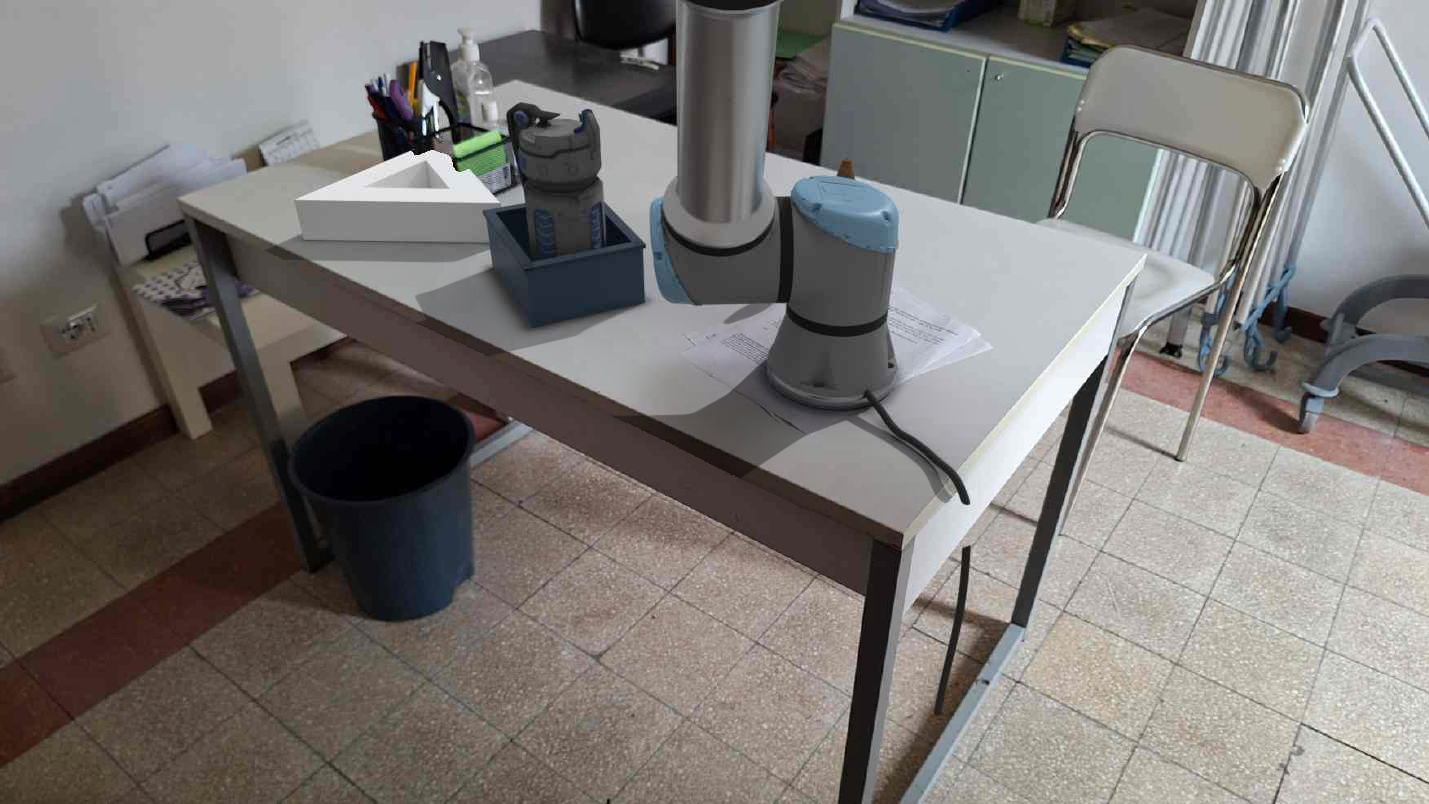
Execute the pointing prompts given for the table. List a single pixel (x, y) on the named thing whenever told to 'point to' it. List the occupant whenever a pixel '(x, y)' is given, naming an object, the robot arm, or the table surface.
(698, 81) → the robot arm
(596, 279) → the dark blue open box
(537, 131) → the grey piece
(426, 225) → the triangle block
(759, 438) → the table surface
